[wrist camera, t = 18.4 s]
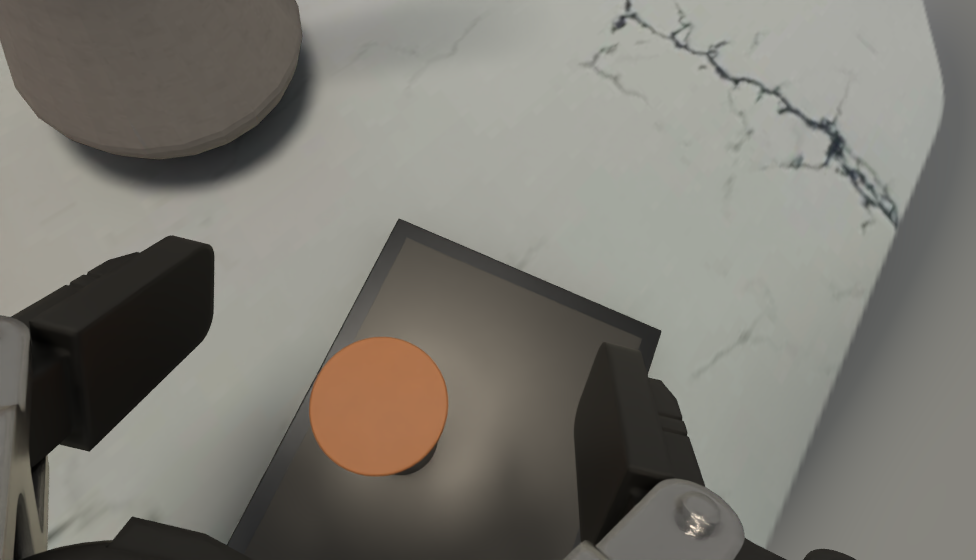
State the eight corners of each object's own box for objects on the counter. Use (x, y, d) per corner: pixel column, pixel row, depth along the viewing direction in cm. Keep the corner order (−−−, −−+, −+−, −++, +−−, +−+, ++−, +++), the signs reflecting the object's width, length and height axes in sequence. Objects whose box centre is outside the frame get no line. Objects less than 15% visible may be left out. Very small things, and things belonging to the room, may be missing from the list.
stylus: (450, 419, 22) (470, 368, 12) (420, 488, 21) (412, 499, 11) (386, 390, 22) (348, 315, 12) (353, 458, 21) (282, 441, 11)
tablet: (653, 336, 25) (663, 330, 24) (517, 755, 20) (521, 770, 19) (399, 227, 26) (398, 217, 25) (200, 608, 20) (188, 615, 19)
